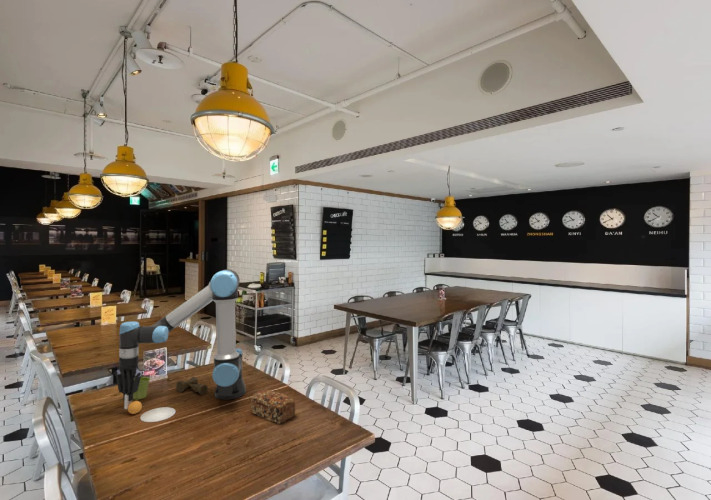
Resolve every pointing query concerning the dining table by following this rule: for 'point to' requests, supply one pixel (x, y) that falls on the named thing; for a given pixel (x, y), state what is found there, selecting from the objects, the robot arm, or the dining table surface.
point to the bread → (272, 406)
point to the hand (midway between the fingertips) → (128, 407)
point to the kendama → (192, 386)
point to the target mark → (157, 414)
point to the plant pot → (142, 388)
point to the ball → (134, 407)
